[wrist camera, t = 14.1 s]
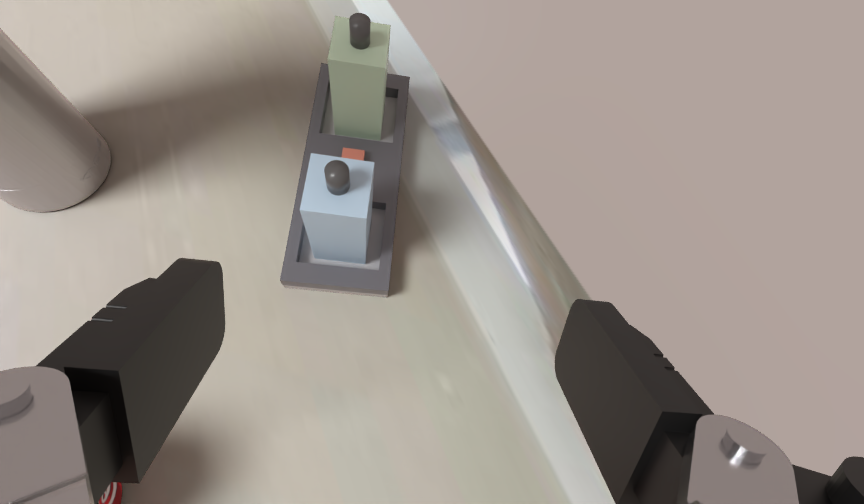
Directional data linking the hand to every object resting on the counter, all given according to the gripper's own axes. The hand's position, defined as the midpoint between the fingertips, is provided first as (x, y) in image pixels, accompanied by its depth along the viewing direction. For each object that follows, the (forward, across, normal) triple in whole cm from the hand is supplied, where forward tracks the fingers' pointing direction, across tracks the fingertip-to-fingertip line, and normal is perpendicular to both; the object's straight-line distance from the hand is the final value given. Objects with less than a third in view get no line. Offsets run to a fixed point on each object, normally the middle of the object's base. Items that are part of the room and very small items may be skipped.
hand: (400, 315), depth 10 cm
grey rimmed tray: (+34, +4, +7) cm, 35 cm away
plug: (+29, +4, +11) cm, 31 cm away
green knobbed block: (+38, +4, +2) cm, 38 cm away
